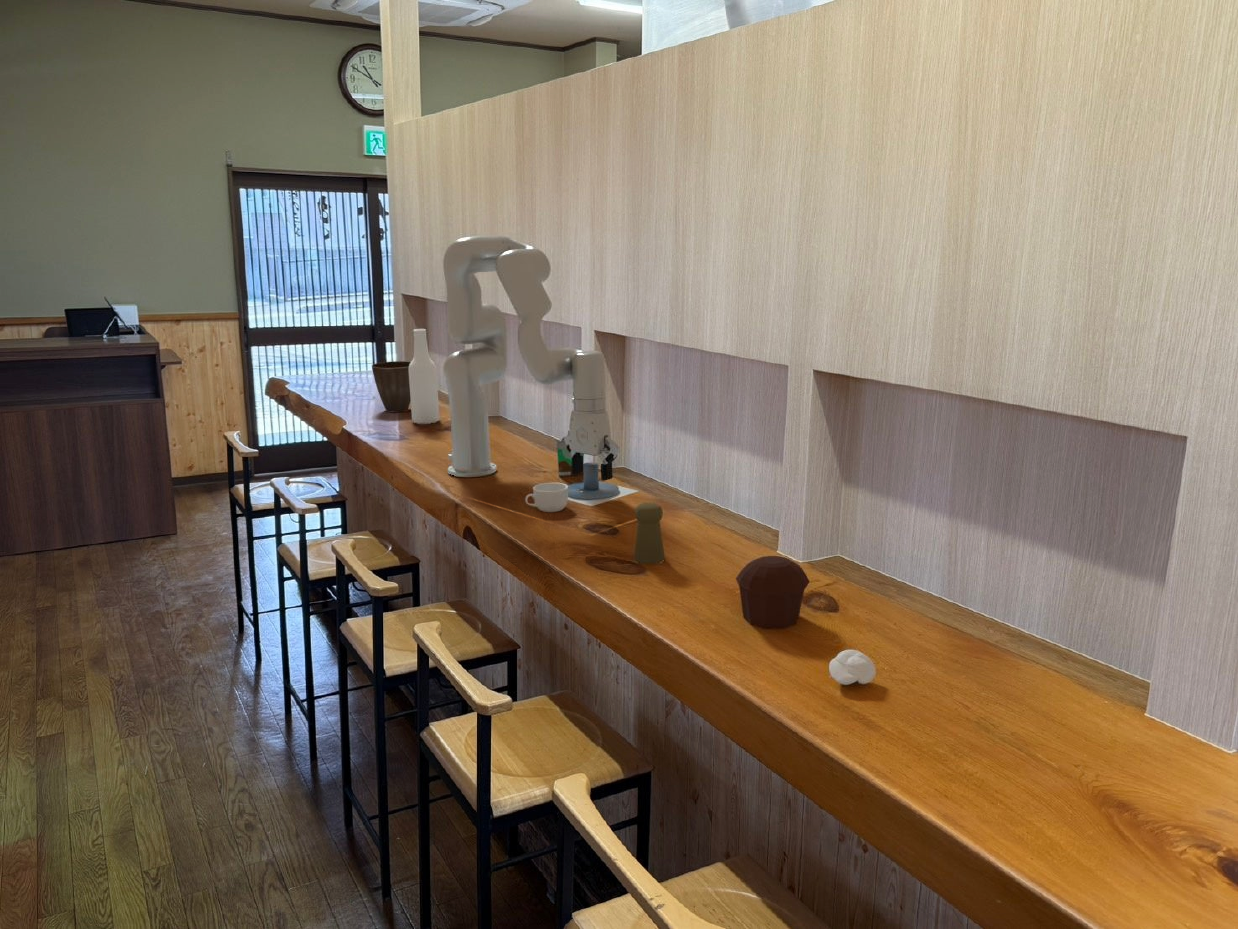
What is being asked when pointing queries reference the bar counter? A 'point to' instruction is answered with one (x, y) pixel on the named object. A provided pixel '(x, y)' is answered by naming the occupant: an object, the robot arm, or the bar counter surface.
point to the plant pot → (393, 384)
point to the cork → (649, 534)
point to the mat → (622, 492)
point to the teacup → (549, 496)
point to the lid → (592, 485)
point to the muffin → (772, 591)
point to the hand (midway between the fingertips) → (592, 476)
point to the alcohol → (423, 382)
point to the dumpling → (852, 668)
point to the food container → (565, 460)
